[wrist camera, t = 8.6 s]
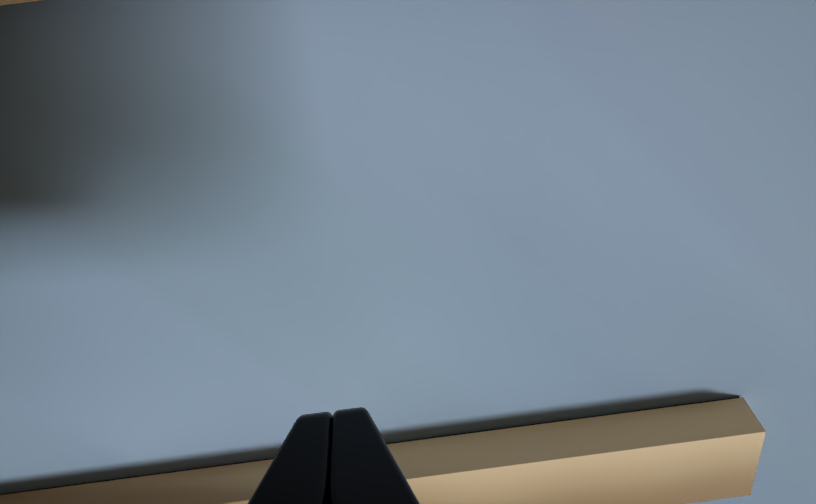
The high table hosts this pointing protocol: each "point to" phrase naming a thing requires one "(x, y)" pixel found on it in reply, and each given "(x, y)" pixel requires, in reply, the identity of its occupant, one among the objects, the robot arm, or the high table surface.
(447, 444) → the light brown long piece
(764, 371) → the high table surface
